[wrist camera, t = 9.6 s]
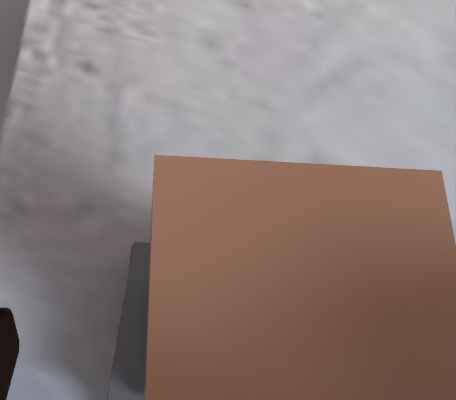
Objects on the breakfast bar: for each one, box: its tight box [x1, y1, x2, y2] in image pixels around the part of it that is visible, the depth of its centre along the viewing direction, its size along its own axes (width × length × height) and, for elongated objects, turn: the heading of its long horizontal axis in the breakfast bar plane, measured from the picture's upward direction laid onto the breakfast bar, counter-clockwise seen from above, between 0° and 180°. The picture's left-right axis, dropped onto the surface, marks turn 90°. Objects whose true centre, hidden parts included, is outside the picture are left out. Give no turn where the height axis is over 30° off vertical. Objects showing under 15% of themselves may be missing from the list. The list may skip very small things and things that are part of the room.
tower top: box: [107, 242, 150, 400], centre depth 18 cm, size 7×7×2 cm
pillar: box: [144, 155, 456, 400], centre depth 11 cm, size 4×4×12 cm
